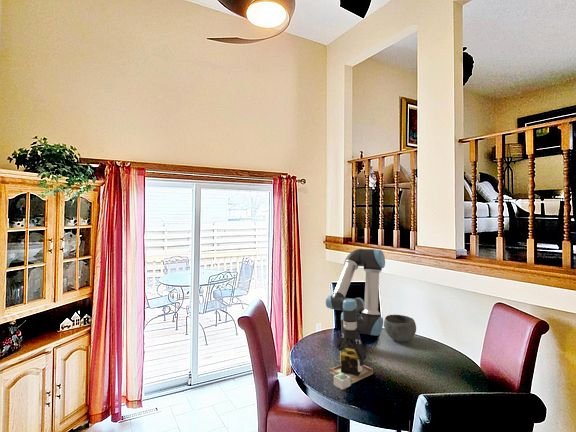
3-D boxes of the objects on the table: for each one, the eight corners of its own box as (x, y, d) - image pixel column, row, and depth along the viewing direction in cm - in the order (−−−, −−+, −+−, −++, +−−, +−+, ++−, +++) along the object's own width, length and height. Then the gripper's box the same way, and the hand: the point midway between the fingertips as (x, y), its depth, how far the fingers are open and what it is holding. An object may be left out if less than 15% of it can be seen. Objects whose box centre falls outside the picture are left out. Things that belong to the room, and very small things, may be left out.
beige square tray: (329, 372, 178) (329, 367, 178) (351, 363, 188) (351, 358, 188) (350, 384, 165) (350, 379, 165) (373, 373, 175) (373, 369, 175)
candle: (363, 368, 180) (363, 350, 179) (358, 376, 171) (358, 357, 170) (345, 364, 184) (345, 347, 184) (340, 372, 175) (340, 354, 175)
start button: (336, 381, 164) (336, 374, 164) (341, 379, 166) (341, 371, 166) (341, 384, 161) (341, 376, 161) (347, 382, 164) (346, 374, 164)
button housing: (333, 384, 165) (333, 376, 165) (342, 381, 168) (341, 372, 168) (342, 389, 160) (341, 380, 160) (350, 385, 163) (350, 377, 163)
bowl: (389, 332, 235) (389, 312, 235) (419, 338, 223) (419, 316, 222) (379, 341, 218) (379, 320, 218) (411, 349, 206) (411, 325, 205)
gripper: (329, 323, 184) (330, 360, 184) (363, 336, 164) (363, 377, 164) (339, 320, 189) (339, 356, 189) (372, 332, 168) (373, 373, 168)
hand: (350, 366), depth 176 cm, fingers open, 13 cm apart
